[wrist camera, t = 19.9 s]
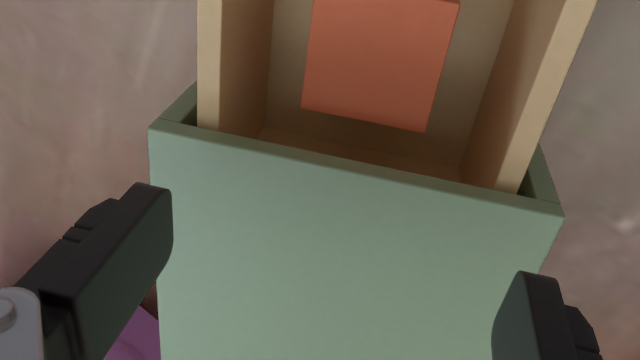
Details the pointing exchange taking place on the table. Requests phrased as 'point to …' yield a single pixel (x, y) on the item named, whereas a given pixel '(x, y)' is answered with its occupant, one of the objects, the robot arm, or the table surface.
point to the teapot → (137, 339)
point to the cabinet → (333, 251)
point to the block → (377, 59)
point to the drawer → (450, 100)
